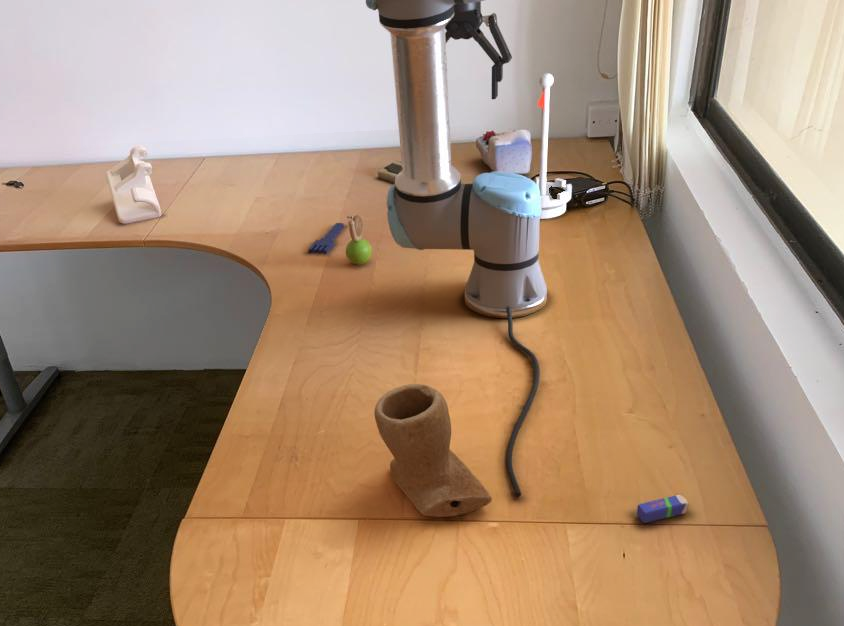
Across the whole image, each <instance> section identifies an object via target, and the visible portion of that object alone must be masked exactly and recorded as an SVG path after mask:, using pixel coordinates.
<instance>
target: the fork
mask: <svg viewBox="0 0 844 626" xmlns="http://www.w3.org/2000/svg"><path fill="white" fill-rule="evenodd" d="M344 224H345V223H343V222H335V224H334V225H333V226H332V227H331V228H330V230H329V231H328V232H327V233H326V234H325V235H324V237H320V239H315V241H314V242H313V243H312V244H311V245H310V247H309V248H308V249H307V250H308V254H312V253H313V254H317V253H318V254H321V255H322V254H324V255H326V254H328V253H329V251H330V250H332V249H333V247H334V246H335V241H334V239H335V238H336V237H337V236H338V235H339V233H340V232H341V231H342V230H343V228H344V227H345V225H344Z"/></svg>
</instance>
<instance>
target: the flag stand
mask: <svg viewBox="0 0 844 626" xmlns="http://www.w3.org/2000/svg"><path fill="white" fill-rule="evenodd" d="M554 80H555V79H554V76H553V74H551V73H549V72H545V73H543V74H542V75H541V76H540V77H539V84H540V86H541V87H542V93H541V96H540V98H539V100H538V102H537V104H536V106H537V107H539V108H540V109H541V123H540V149H539V151H540V152H539V173H538V175H539V176H535V181H534V182H535V183H536V185H537V186H538V188H539V190H540V206H541V215H540V220H544V219H553V218H556V217H559V216H561V215H563V214H565V212H567V203H568V202H569V201H571V199H572V193H573V191H572V190H573V185H572V183H568V184H567V180H566V179H563V178H559V177H557V178H555V179H554V181H547V180H548V176H547V171H548V170H547V169H548V167H547V166H548V148H549V147H548V146H549V145H548V143H549V122H550V121H549V119H550V98H551V97H550V96H551V95H550V94H551V87H552V86H553V84H554V82H555V81H554ZM551 186H552V187H561V188H563V189H564V190H565V191H563V192H561V193H558V194H557V199H553V198H552V196H551V195H550V193H549V188H550V187H551Z"/></svg>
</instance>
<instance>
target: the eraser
mask: <svg viewBox="0 0 844 626" xmlns="http://www.w3.org/2000/svg"><path fill="white" fill-rule="evenodd" d="M636 508H637V509H636V515H637V517H638V519H639V520H640V521H641V522H642V523H643V524H647V523H651V522H655V521H659V520H664V519H669V518H672V517H676V516H681V515H685V514H686V513H687V512H688V508H689V502H688V500H687V499H686V498H685V496H683V494H676V495H671V496H667V497H663V498H659V499H654V500H651V501H647V502H643V503H639V504H638V505H637V507H636Z"/></svg>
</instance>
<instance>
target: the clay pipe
mask: <svg viewBox="0 0 844 626" xmlns="http://www.w3.org/2000/svg"><path fill="white" fill-rule="evenodd" d="M447 403H448V402H447V400H446V398H445V397H444V395H443V394H442V393H441V392H440V391H439V390H438V389H436V388H433V387H432V386H430V385H426V384H422V383H410V384H405V385H404V384H403V385H401V386H398V387H395V388H393V389H391V390H389V391H387V392H386V393H384V394H383V395H381V396H380V398H379V399H378V401H377V402H376V404H375V407H374V412H373V413H374V414H373V415H374V420H375V423H376V424H375V425H376V428H377V430H378V433H379V435H380V437H381V440H382V441H383V443H384V444H385V446H386V447H387V449H388V450H389V452H390V453H391V455H392V456H393V459H392V460H391V461H390V464H389V469H390V472H391V476H392V478H393V480H394V482H395V484H396V485H397V487H399V488H400V490H401V491H402V492H403V494H404V495H405V496H406V497H407V499H408V500H409V501H410V502H411V504H412V505H413V506H414V507H415V508H416V509H417V511H418V512H419V513H420V514H421V515H423V516H426V517H435V518H437V517H438V518H443V517H445V518H450V517H456V516H459V515H466V514H470V513H472V512H475V511H477V510H480V509H482V508H484V507H486V506H487V505H489V504H490V503H491V502H492V501H493V499H492V495H491V494H490V493H489V491H488V489H486V487H485V486H484V485H483V484H482V482H481V481H480V480H479V479H478V477H476V476H475V474H473V472H472V470H470V468H469V467H468V466H467V465H466V464H465V463H464V462H463V460H462V459H461V458H459V457H458V456H457V454H456V453H454V452H453V450H452V449H450V447H451V440H452V422H451V417H450V413H449V407H448V404H447Z"/></svg>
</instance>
